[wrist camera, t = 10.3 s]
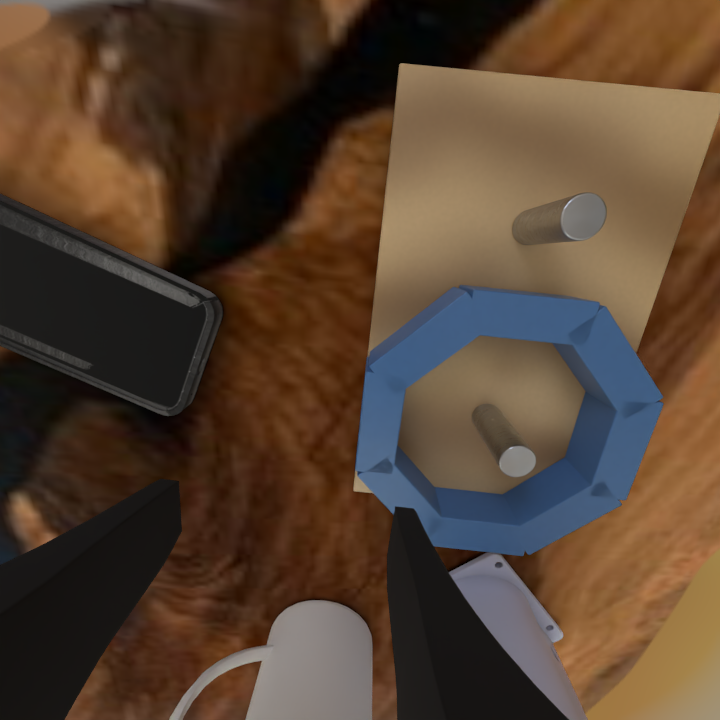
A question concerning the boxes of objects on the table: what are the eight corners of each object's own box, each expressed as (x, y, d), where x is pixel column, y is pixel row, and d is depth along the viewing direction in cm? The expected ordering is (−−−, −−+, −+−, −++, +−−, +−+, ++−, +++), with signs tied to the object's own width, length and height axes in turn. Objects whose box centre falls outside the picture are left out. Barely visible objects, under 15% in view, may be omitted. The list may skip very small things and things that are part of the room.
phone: (-69, 168, 17) (219, 302, 18) (-42, 174, 18) (228, 300, 19) (-80, 313, 19) (178, 423, 20) (-55, 310, 20) (188, 415, 21)
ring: (653, 304, 17) (700, 312, 15) (574, 529, 21) (601, 565, 19) (375, 275, 17) (375, 279, 15) (350, 504, 21) (347, 537, 19)
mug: (393, 629, 26) (404, 865, 16) (336, 684, 28) (314, 923, 18) (254, 552, 24) (169, 761, 14) (205, 617, 26) (101, 838, 16)
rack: (568, 503, 22) (632, 584, 17) (354, 479, 22) (347, 552, 17) (702, 105, 16) (878, 23, 10) (397, 76, 16) (409, -20, 10)
